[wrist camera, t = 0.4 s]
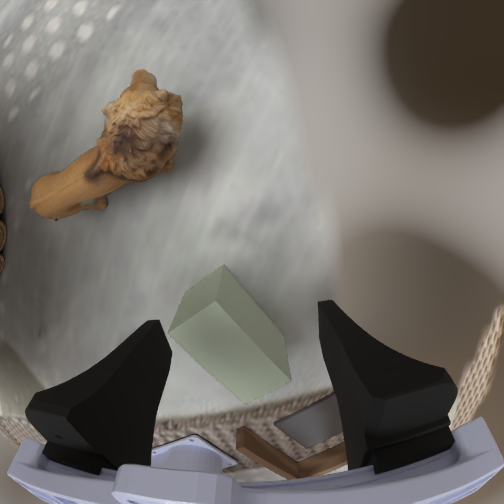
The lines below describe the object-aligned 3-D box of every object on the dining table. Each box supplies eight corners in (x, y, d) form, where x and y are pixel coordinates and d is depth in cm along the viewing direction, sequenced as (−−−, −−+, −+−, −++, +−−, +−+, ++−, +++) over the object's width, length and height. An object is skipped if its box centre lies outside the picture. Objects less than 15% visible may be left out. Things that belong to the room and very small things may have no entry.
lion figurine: (182, 84, 18) (139, 43, 10) (219, 143, 20) (196, 135, 11) (46, 194, 21) (-28, 218, 12) (75, 245, 22) (9, 288, 13)
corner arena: (294, 467, 32) (297, 484, 29) (236, 428, 29) (235, 449, 26) (402, 413, 29) (410, 430, 26) (367, 360, 26) (376, 380, 23)
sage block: (246, 356, 25) (245, 404, 20) (185, 292, 23) (167, 333, 18) (283, 333, 25) (291, 380, 19) (223, 264, 23) (215, 300, 17)
